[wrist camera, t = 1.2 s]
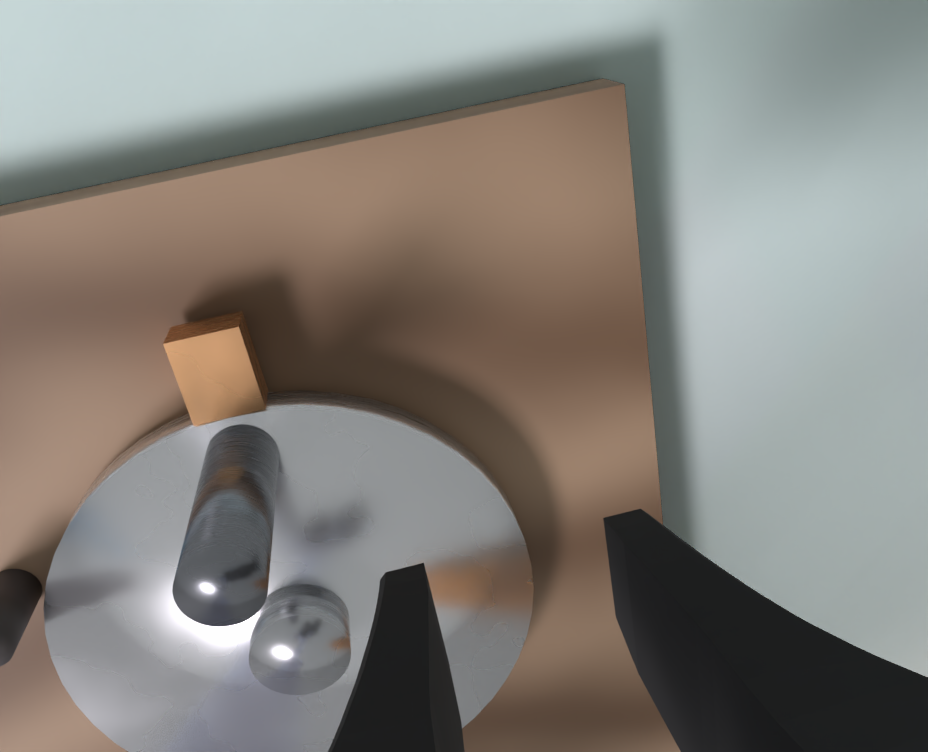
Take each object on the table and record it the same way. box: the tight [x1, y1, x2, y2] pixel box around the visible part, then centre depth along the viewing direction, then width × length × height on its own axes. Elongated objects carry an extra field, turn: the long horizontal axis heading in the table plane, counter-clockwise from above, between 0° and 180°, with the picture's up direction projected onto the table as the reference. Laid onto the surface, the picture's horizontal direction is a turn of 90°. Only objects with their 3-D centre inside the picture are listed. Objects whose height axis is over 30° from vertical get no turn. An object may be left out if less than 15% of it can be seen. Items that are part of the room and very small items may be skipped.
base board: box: [0, 78, 681, 752], centre depth 21 cm, size 22×20×4 cm
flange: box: [43, 311, 534, 752], centre depth 18 cm, size 14×12×6 cm
